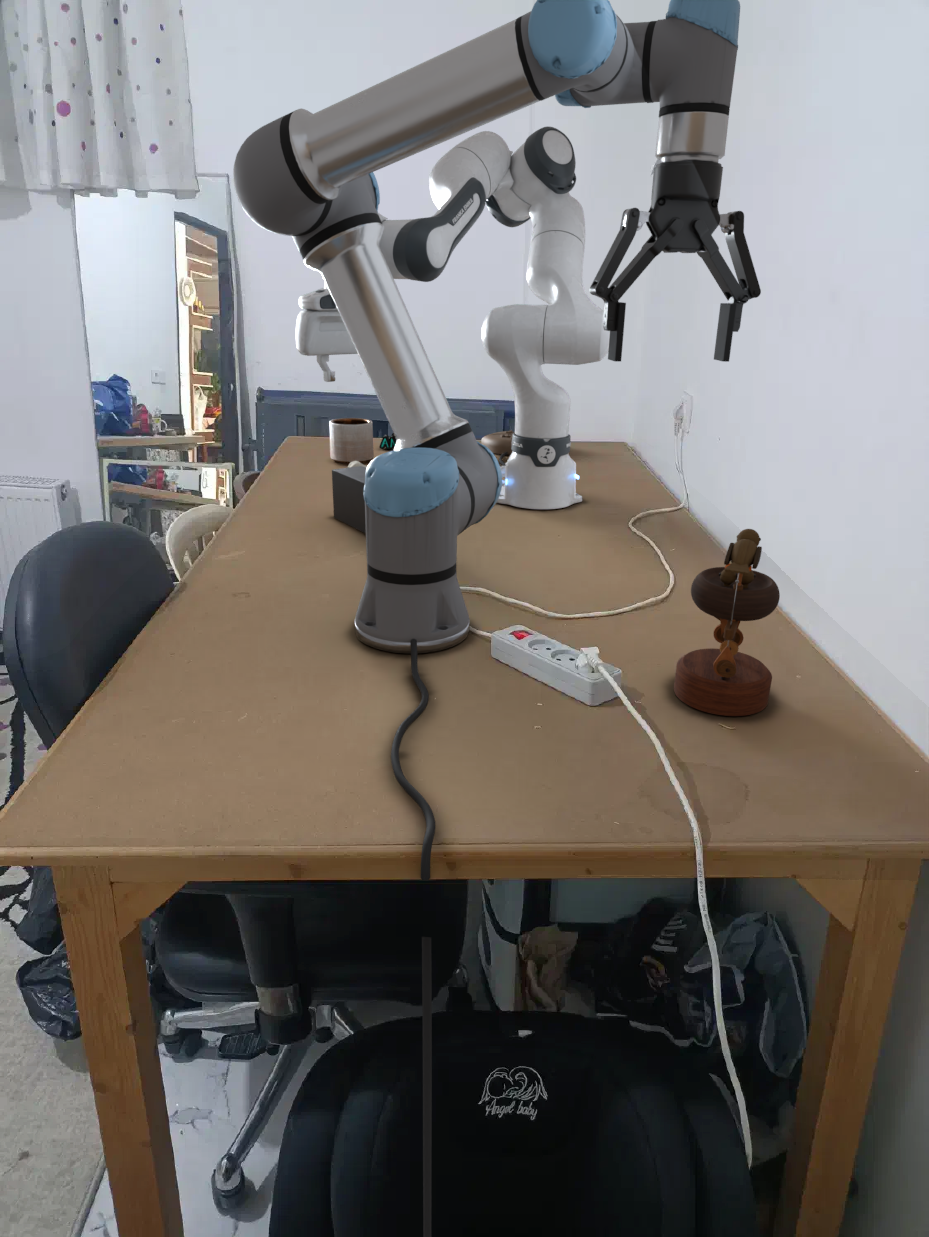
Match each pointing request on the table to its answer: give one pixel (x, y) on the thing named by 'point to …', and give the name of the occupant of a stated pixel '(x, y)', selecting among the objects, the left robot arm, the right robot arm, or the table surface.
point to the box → (349, 496)
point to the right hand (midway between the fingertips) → (353, 380)
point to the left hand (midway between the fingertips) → (668, 360)
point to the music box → (729, 635)
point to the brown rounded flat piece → (499, 442)
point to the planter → (351, 440)
